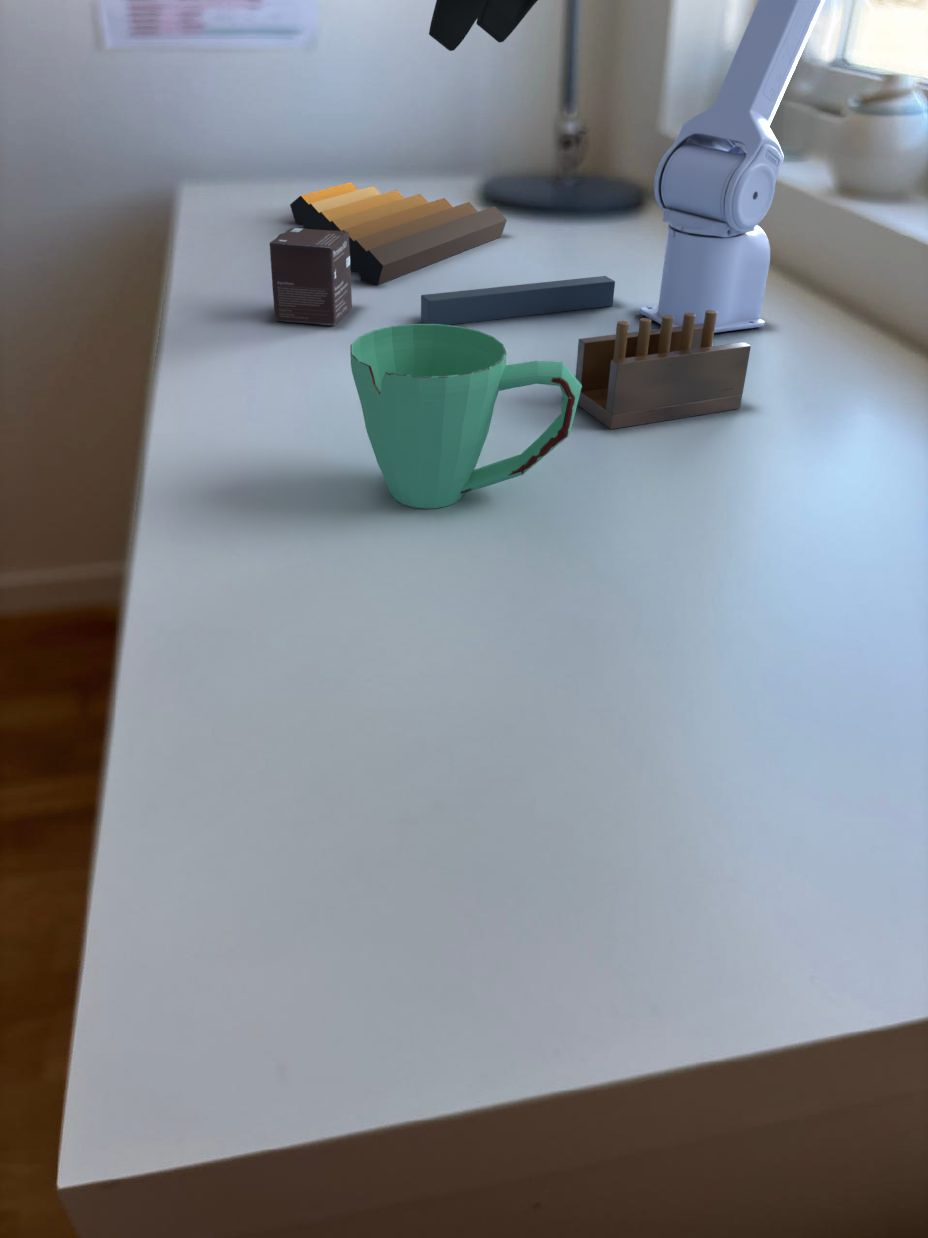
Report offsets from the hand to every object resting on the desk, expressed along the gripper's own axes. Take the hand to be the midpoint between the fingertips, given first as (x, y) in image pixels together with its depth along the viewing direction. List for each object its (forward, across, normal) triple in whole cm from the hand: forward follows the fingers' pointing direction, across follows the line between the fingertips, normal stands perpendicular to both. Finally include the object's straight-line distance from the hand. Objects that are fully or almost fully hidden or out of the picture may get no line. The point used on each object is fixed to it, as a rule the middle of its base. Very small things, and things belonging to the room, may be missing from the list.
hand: (464, 37), depth 76 cm
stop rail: (+10, -20, +25) cm, 33 cm away
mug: (+28, +13, +10) cm, 32 cm away
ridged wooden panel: (+9, -50, +18) cm, 54 cm away
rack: (+15, +5, +26) cm, 30 cm away
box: (+20, -26, +9) cm, 34 cm away
